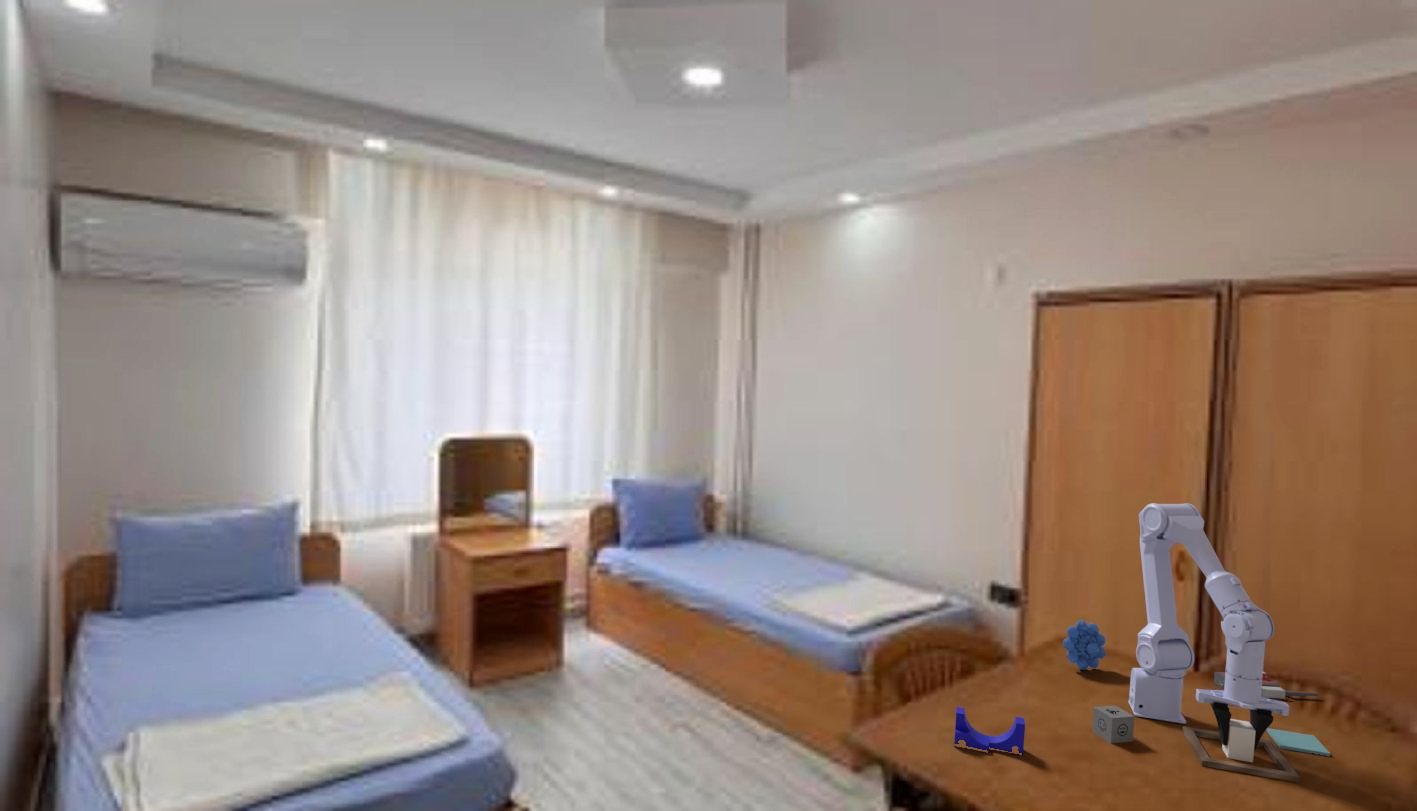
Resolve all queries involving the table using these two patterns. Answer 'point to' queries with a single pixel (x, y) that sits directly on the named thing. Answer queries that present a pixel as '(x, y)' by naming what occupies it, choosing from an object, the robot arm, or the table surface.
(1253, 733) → the cream block
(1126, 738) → the dice cube
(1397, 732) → the table surface
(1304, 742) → the mat
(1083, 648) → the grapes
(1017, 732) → the blue cradle stand
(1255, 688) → the robot arm
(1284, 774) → the brown square frame
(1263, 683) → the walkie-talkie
